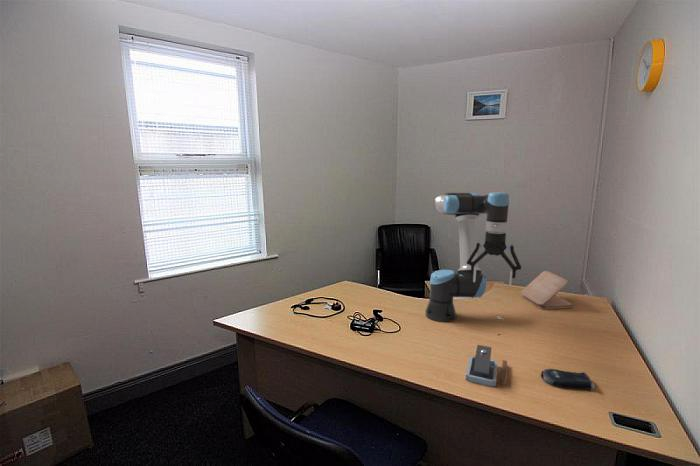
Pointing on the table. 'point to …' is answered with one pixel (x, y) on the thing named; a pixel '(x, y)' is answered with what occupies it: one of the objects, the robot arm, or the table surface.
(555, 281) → the case
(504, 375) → the door edge strip
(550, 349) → the table surface
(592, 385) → the electronic device
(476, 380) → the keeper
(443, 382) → the table surface
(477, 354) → the grey block with knob
